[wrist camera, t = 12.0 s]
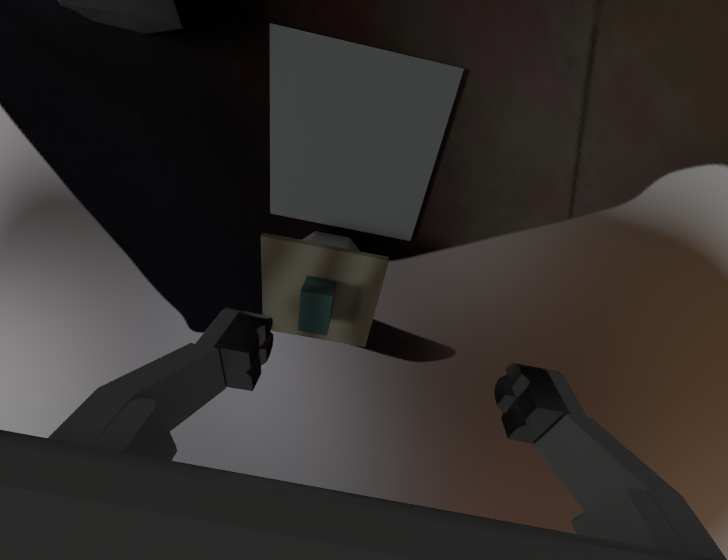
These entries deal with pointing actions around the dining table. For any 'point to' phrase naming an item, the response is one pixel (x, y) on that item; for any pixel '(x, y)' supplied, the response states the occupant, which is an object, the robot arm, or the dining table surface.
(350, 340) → the board
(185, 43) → the dining table surface
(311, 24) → the dining table surface
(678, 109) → the dining table surface
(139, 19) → the dark grey block
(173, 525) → the robot arm
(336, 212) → the mat
